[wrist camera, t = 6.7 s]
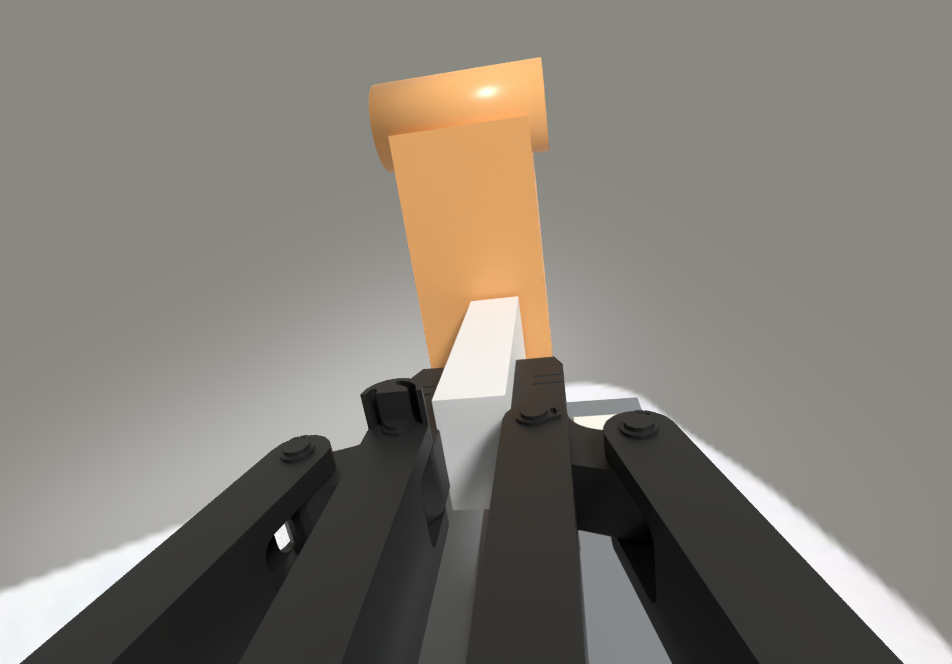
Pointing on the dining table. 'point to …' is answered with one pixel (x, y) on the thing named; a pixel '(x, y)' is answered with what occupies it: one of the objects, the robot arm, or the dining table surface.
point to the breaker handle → (469, 192)
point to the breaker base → (604, 580)
